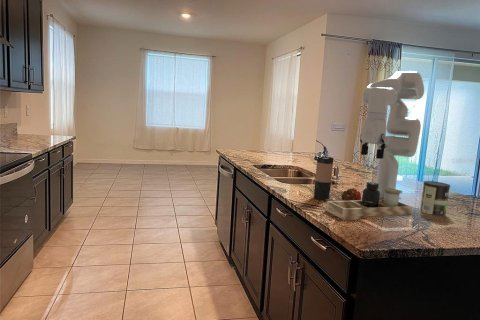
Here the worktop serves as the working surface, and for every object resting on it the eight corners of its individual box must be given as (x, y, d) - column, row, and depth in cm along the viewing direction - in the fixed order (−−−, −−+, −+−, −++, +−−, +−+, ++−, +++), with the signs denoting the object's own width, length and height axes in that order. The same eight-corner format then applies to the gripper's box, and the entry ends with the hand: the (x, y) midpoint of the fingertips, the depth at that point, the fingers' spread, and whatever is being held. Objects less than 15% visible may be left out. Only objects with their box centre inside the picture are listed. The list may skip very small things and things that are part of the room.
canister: (390, 207, 162) (392, 188, 160) (401, 211, 156) (403, 191, 154) (378, 208, 159) (381, 188, 158) (389, 212, 154) (391, 191, 152)
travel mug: (329, 201, 171) (334, 159, 169) (313, 199, 173) (317, 157, 170) (329, 197, 179) (333, 157, 176) (313, 195, 180) (317, 155, 177)
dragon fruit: (349, 211, 161) (347, 208, 173) (366, 202, 159) (364, 200, 171) (338, 194, 162) (338, 193, 174) (356, 185, 161) (354, 184, 172)
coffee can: (446, 214, 161) (450, 183, 159) (444, 219, 153) (449, 187, 151) (420, 209, 167) (424, 179, 165) (417, 214, 158) (422, 183, 156)
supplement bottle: (364, 212, 150) (368, 184, 149) (357, 208, 157) (361, 180, 155) (380, 213, 151) (384, 185, 149) (373, 208, 158) (376, 181, 156)
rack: (389, 208, 166) (390, 199, 165) (411, 216, 154) (413, 207, 153) (325, 210, 154) (326, 200, 154) (344, 220, 142) (345, 209, 142)
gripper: (355, 115, 161) (351, 153, 164) (383, 118, 145) (378, 160, 148) (369, 115, 163) (365, 153, 166) (398, 118, 148) (393, 160, 150)
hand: (371, 156), depth 157 cm, fingers open, 9 cm apart
